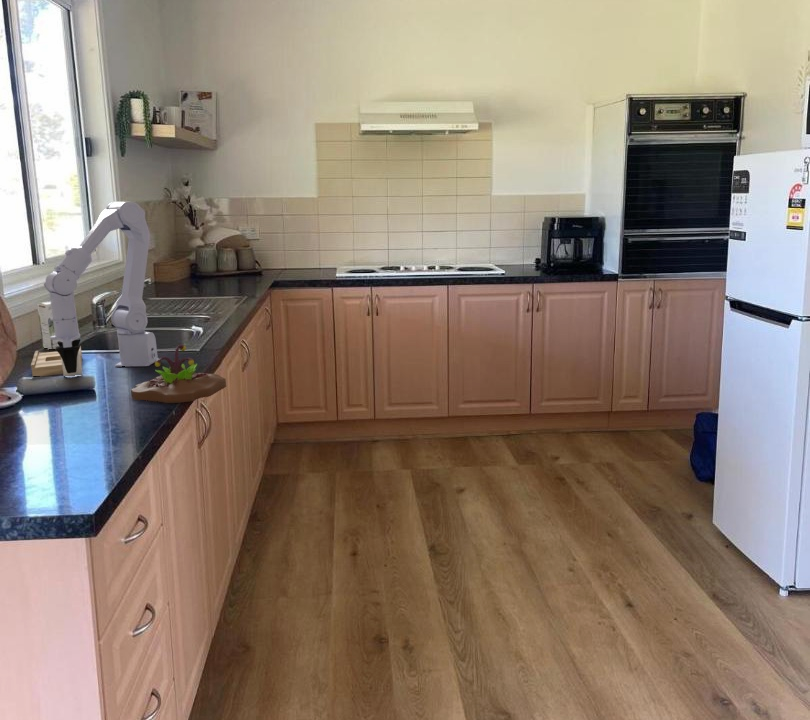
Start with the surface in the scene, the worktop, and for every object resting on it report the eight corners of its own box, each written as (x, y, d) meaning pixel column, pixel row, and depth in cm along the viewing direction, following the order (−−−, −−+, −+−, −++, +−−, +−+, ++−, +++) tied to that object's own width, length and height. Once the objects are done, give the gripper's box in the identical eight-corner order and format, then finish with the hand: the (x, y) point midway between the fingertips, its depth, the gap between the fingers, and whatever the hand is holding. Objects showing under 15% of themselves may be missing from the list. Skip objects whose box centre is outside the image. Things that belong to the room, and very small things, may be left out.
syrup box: (60, 345, 244) (54, 299, 240) (69, 347, 240) (63, 301, 237) (42, 348, 239) (36, 302, 236) (52, 350, 236) (45, 303, 232)
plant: (240, 384, 187) (236, 339, 185) (188, 406, 170) (183, 357, 168) (175, 379, 196) (170, 336, 193) (119, 399, 178) (113, 352, 176)
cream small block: (86, 373, 204) (83, 351, 202) (77, 378, 199) (74, 355, 198) (69, 374, 204) (66, 352, 203) (60, 378, 200) (57, 356, 198)
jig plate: (81, 371, 206) (80, 359, 205) (32, 377, 202) (30, 365, 201) (82, 357, 224) (80, 346, 224) (37, 362, 220) (35, 351, 219)
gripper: (49, 315, 203) (56, 365, 206) (46, 324, 190) (54, 377, 193) (78, 313, 206) (84, 362, 209) (77, 321, 193) (84, 373, 196)
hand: (72, 369), depth 201 cm, fingers open, 7 cm apart
